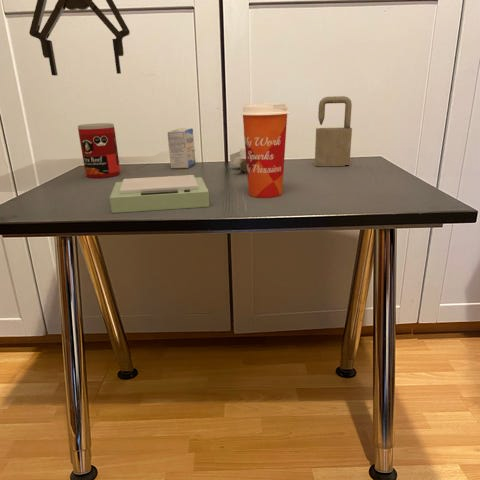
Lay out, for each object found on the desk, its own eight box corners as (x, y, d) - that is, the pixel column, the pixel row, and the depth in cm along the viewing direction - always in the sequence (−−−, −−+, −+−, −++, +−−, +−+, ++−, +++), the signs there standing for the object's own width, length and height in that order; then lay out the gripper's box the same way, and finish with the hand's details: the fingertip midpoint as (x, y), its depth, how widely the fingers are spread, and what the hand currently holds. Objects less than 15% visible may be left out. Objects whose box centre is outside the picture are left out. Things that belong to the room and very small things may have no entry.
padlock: (314, 164, 118) (317, 96, 111) (348, 163, 116) (353, 95, 110) (314, 166, 114) (317, 97, 107) (349, 166, 113) (354, 96, 106)
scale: (111, 213, 78) (108, 193, 77) (117, 195, 90) (115, 178, 89) (209, 206, 80) (208, 187, 79) (202, 190, 92) (201, 174, 91)
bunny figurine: (268, 147, 117) (273, 147, 103) (268, 169, 119) (273, 172, 105) (229, 148, 117) (229, 148, 103) (230, 170, 119) (229, 173, 105)
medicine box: (188, 168, 117) (185, 130, 113) (170, 169, 117) (167, 131, 114) (195, 163, 124) (193, 127, 120) (179, 164, 124) (176, 128, 121)
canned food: (78, 177, 110) (69, 126, 105) (101, 171, 117) (94, 123, 112) (105, 179, 107) (97, 126, 102) (127, 173, 114) (120, 123, 109)
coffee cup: (236, 197, 86) (233, 105, 79) (252, 188, 92) (250, 103, 86) (281, 200, 83) (281, 105, 76) (294, 190, 90) (296, 102, 83)
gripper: (133, -42, 100) (145, 73, 110) (8, -42, 97) (31, 76, 106) (132, -51, 94) (144, 72, 103) (-3, -51, 90) (23, 75, 100)
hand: (87, 74), depth 105 cm, fingers open, 13 cm apart
